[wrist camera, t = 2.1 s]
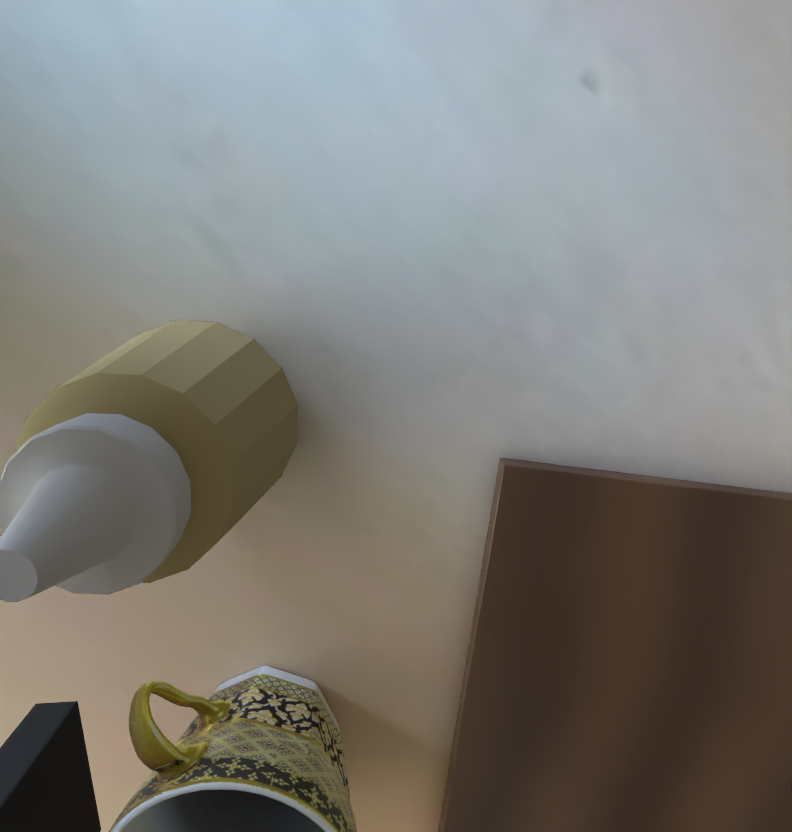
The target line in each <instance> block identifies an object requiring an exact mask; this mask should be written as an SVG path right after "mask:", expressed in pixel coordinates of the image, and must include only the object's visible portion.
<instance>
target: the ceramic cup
mask: <svg viewBox="0 0 792 832" xmlns="http://www.w3.org/2000/svg"><path fill="white" fill-rule="evenodd" d="M151 693H153V694H156V695H158V696H160V697H162V698H164V699H166V700H168V701H170V702H171V703H174V704H176V705H179V706H184V707H191V708H193V709H195V710H196V711H197V712H198V715H197V717H196V718H195V719H194V720H193V722H192V723H191V724H190V726H189V727H188V728H187V729H186V731H185V732H184V733H183V735H182V736H181V737H180V739H179V740H178V741H177V743H176V744H175V745H174V744H172V743H171V742H170V741H169V740H168V739H167V738H166V737H165V736H164V735H163V734H162V732H161V731H160V730H159V728H158V727H157V725H156V724H155V722H154V720H153V718H152V715H151V710H150V706H149V697H150V694H151ZM129 730H130V736H131V740H132V743H133V746H134V749H135V751H136V753H137V755H138V757H139V758H140V760H141V761H142V762H143V763H144V764H145V765H146V766H147V767H148V768H150V769H151V770H154V771H153V772H152V774H151V775H150V776H149V777H148V779H147V780H146V781H145V782H144V783H143V785H142V786H141V787H140V788H139V790H138V791H137V792H136V793H135V794H134V796H133V797H132V798H131V799H130V801H129V802H128V804H127V805H126V807H125V808H124V809H123V811H122V812H121V814H120V815H119V817H118V818H117V820H116V821H115V823H114V824H113V826H112V827H111V829H110V830H109V832H357V830H356V823H355V818H354V814H353V811H352V807H351V803H350V796H349V786H348V779H347V773H346V766H345V760H344V755H343V745H342V738H341V733H340V727H339V724H338V722H337V720H336V718H335V717H334V715H333V713H332V711H331V709H330V707H329V705H328V704H327V702H326V700H325V698H324V696H323V694H322V693H321V691H320V689H319V687H318V685H317V684H316V683H315V682H313V681H311V680H309V679H306V678H303V677H300V676H297V675H293V674H290V673H287V672H284V671H281V670H278V669H275V668H272V667H269V666H265V665H264V666H261V667H258V668H256V669H253V670H251V671H249V672H246V673H244V674H242V675H239V676H237V677H234V678H232V679H230V680H227V681H225V682H223V683H222V684H221V685H219V686H218V687H217V689H216V690H215V692H214V693H213V695H212V696H211V697H210V699H209V700H206V699H205V698H203V697H200V696H194V695H189V694H187V693H184V692H182V691H181V690H179V689H177V688H175V687H174V686H172V685H170V684H167V683H165V682H161V681H153V682H149V683H146V684H144V685H143V686H141V687H140V688H139V689H138V690H137V692H136V693H135V695H134V697H133V700H132V703H131V708H130V714H129Z"/></svg>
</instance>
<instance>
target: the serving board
mask: <svg viewBox="0 0 792 832" xmlns="http://www.w3.org/2000/svg"><path fill="white" fill-rule="evenodd" d="M791 784H792V493H783V492H775V491H767V490H759V489H751V488H742V487H734V486H726V485H718V484H710V483H702V482H693V481H685V480H677V479H669V478H661V477H652V476H644V475H636V474H628V473H620V472H611V471H603V470H595V469H587V468H579V467H570V466H562V465H554V464H546V463H538V462H530V461H521V460H513V459H505V458H500V462H499V468H498V474H497V480H496V486H495V492H494V498H493V504H492V510H491V516H490V522H489V528H488V534H487V540H486V546H485V552H484V558H483V565H482V571H481V577H480V583H479V589H478V595H477V601H476V607H475V613H474V619H473V625H472V631H471V637H470V643H469V649H468V655H467V661H466V668H465V674H464V680H463V686H462V692H461V698H460V704H459V710H458V716H457V722H456V728H455V734H454V740H453V746H452V752H451V758H450V765H449V771H448V777H447V783H446V789H445V795H444V801H443V807H442V813H441V819H440V825H439V831H438V832H792V790H791Z"/></svg>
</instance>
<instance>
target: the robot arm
mask: <svg viewBox="0 0 792 832" xmlns="http://www.w3.org/2000/svg"><path fill="white" fill-rule="evenodd" d="M791 790H792V784H791ZM100 830H101V827H100V822H99V816H98V811H97V805H96V800H95V794H94V789H93V783H92V778H91V772H90V767H89V762H88V756H87V751H86V745H85V740H84V734H83V729H82V723H81V718H80V713H79V707H78V702H77V701H75V702H59V703H42V704H35V706H34V707H33V708H32V709H31V711H30V712H29V713H28V714H27V716H26V717H25V718H24V719H23V720H22V722H21V723H20V724H19V725H18V727H17V728H16V729H15V730H14V732H13V733H12V734H11V735H10V737H9V738H8V739H7V740H6V741H5V743H4V744H3V745H2V746H1V748H0V832H100Z"/></svg>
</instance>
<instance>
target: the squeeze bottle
mask: <svg viewBox="0 0 792 832" xmlns="http://www.w3.org/2000/svg"><path fill="white" fill-rule="evenodd" d="M296 443H297V403H296V401H295V398H294V396H293V394H292V391H291V389H290V386H289V384H288V381H287V379H286V376H285V374H284V372H283V369H282V367H281V366H280V365H279V364H278V363H277V362H276V361H275V360H274V359H273V358H272V357H271V356H270V355H269V354H268V353H267V352H266V351H265V350H264V349H263V348H262V347H261V346H260V345H259V344H258V343H257V342H256V341H255V340H254V339H253V338H251V337H249V336H247V335H244V334H242V333H240V332H238V331H235V330H233V329H231V328H229V327H227V326H224V325H222V324H220V323H218V322H208V321H182V320H175V321H173V322H170V323H167V324H165V325H162V326H159V327H157V328H154V329H152V330H149V331H146V332H144V333H141V334H139V335H137V336H136V337H134V338H133V339H131V340H129V341H128V342H126V343H125V344H123V345H122V346H120V347H119V348H117V349H116V350H114V351H113V352H111V353H109V354H108V355H106V356H105V357H103V358H102V359H100V360H99V361H97V362H96V363H94V364H92V365H91V366H89V367H88V368H86V369H85V370H83V371H82V372H80V373H79V374H77V375H76V376H74V377H72V378H71V379H69V380H68V381H66V382H65V383H63V384H62V385H60V386H59V387H57V388H56V389H55V390H54V391H53V392H52V393H51V394H50V395H49V396H48V397H47V398H46V399H45V400H44V401H43V402H42V403H41V404H40V405H39V406H38V407H37V408H36V409H35V410H34V411H33V412H32V413H31V414H30V415H29V416H28V417H27V418H26V420H25V423H24V426H23V429H22V431H21V434H20V437H19V440H18V443H17V446H16V448H15V451H14V454H13V456H12V457H11V458H10V459H9V460H8V461H7V462H6V465H5V468H4V471H3V474H2V476H1V479H0V529H1V531H2V533H3V535H2V536H1V537H0V600H3V601H6V602H18V601H21V600H24V599H27V598H29V597H31V596H33V595H35V594H37V593H40V592H42V591H44V590H46V589H48V588H50V587H52V586H54V585H55V586H57V587H60V588H62V589H65V590H67V591H70V592H72V593H79V594H108V595H109V594H112V593H115V592H117V591H120V590H123V589H126V588H129V587H132V586H134V585H137V584H140V583H151V582H154V581H156V580H159V579H162V578H165V577H168V576H171V575H173V574H176V573H179V572H182V571H185V570H188V569H189V568H190V567H191V566H192V565H193V564H194V563H195V562H197V561H198V560H199V559H200V558H201V557H202V556H203V555H204V554H205V553H206V552H207V551H209V550H210V549H211V548H212V547H213V546H214V545H215V544H216V543H217V542H218V541H219V540H220V539H221V538H222V537H223V536H224V535H225V534H226V533H227V532H228V531H229V530H230V529H231V528H232V527H233V526H234V525H235V524H236V523H237V522H238V521H239V520H240V519H241V518H242V517H243V515H244V514H245V513H246V512H247V511H248V510H249V509H250V508H251V507H252V506H253V505H254V504H255V503H256V502H257V501H258V500H259V499H260V498H261V497H262V496H263V495H264V494H265V493H266V492H267V491H268V490H269V489H270V488H271V487H272V486H273V485H274V484H275V482H276V481H277V480H278V479H279V478H280V477H281V476H282V474H283V472H284V470H285V467H286V465H287V463H288V461H289V458H290V456H291V454H292V452H293V449H294V447H295V445H296Z"/></svg>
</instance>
